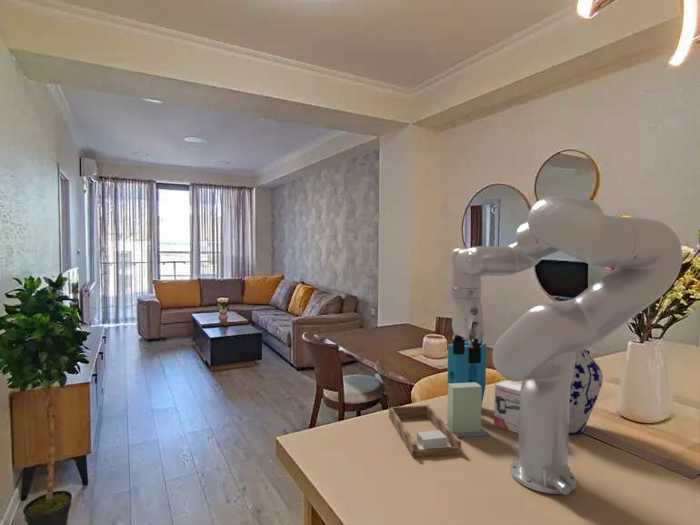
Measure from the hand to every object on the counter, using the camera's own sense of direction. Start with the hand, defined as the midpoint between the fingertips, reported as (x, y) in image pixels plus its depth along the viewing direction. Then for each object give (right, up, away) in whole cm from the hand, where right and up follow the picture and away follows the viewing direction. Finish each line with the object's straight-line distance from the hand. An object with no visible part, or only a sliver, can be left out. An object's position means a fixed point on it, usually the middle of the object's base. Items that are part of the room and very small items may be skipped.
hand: (466, 358), depth 109 cm
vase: (+27, -20, +4) cm, 34 cm away
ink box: (+13, -20, +3) cm, 24 cm away
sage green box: (0, -19, +1) cm, 19 cm away
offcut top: (-11, -19, -9) cm, 23 cm away
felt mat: (0, -20, +1) cm, 20 cm away
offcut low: (-11, -21, -9) cm, 25 cm away
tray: (-12, -20, -1) cm, 23 cm away
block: (+4, -19, +16) cm, 26 cm away
